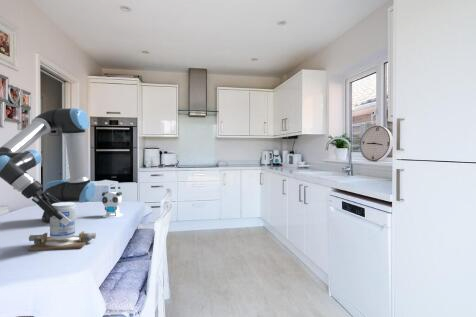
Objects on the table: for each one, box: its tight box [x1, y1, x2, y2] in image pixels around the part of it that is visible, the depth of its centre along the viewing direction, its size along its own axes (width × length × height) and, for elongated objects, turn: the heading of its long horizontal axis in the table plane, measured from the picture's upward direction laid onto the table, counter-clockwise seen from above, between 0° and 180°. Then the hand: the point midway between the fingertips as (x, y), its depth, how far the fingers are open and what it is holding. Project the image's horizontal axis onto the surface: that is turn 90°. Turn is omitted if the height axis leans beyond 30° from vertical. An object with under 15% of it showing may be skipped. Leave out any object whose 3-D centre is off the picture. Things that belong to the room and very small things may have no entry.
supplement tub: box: [49, 202, 77, 240], centre depth 124 cm, size 10×10×15 cm
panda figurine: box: [101, 191, 123, 219], centre depth 177 cm, size 12×11×15 cm
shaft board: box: [27, 231, 97, 252], centre depth 124 cm, size 16×26×5 cm, turn 100°
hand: (71, 220), depth 125 cm, fingers closed on supplement tub, 10 cm apart
